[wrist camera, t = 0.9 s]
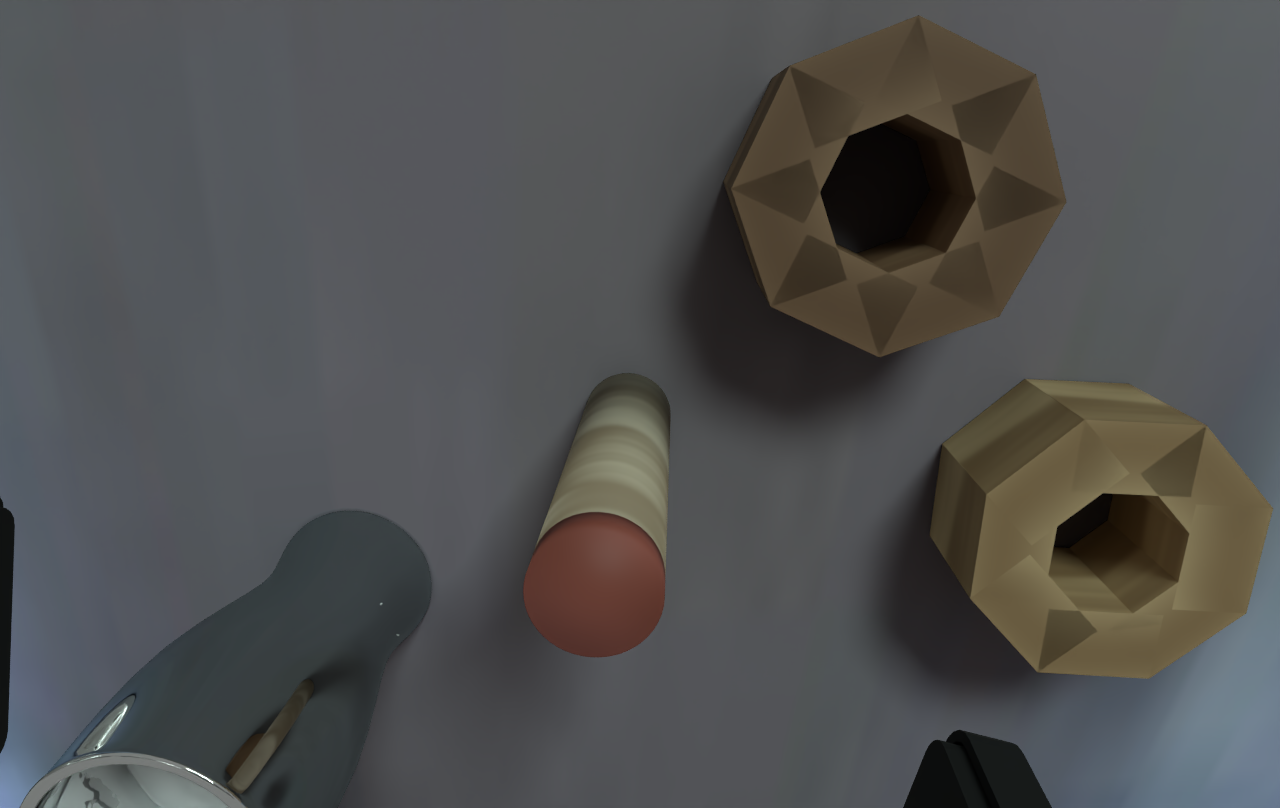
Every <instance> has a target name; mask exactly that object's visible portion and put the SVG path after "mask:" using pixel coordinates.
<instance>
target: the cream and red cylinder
mask: <svg viewBox="0 0 1280 808" xmlns="http://www.w3.org/2000/svg"><path fill="white" fill-rule="evenodd" d="M669 446H670V406H669V402H668V400H667V397H666V395H665V394H664V392H663V391H662V389H661V388H660V387H659V386H658V385H657V384H656V383H654V382H653V381H652V380H650V379H648V378H646V377H644V376H641V375H638V374H632V373H623V374H617V375H614V376H611V377H609V378H607V379H605V380H603V381H602V382H601V383H599V384H598V385H597V386H596V387H595V389H594V390H593V391H592V393H591V395H590V397H589V399H588V402H587V404H586V407H585V410H584V413H583V416H582V418H581V421H580V424H579V427H578V430H577V432H576V435H575V438H574V441H573V444H572V446H571V449H570V452H569V455H568V458H567V460H566V463H565V466H564V469H563V472H562V474H561V477H560V480H559V483H558V486H557V488H556V491H555V494H554V497H553V500H552V502H551V505H550V508H549V511H548V514H547V516H546V519H545V522H544V525H543V528H542V530H541V533H540V536H539V539H538V542H537V544H536V547H535V550H534V553H533V556H532V558H531V561H530V564H529V567H528V570H527V572H526V576H525V580H524V588H523V594H524V602H525V607H526V610H527V613H528V615H529V617H530V619H531V621H532V623H533V624H534V626H535V627H536V629H537V630H538V631H539V632H540V633H541V634H542V635H543V636H544V637H545V638H546V639H547V640H548V641H550V642H551V643H552V644H554V645H555V646H557V647H559V648H561V649H563V650H565V651H567V652H570V653H573V654H576V655H580V656H586V657H607V656H613V655H617V654H620V653H623V652H626V651H628V650H630V649H632V648H634V647H635V646H637V645H638V644H640V643H641V642H642V641H644V640H645V639H646V638H647V637H648V636H649V635H650V633H651V632H652V631H653V630H654V628H655V627H656V625H657V623H658V621H659V619H660V617H661V614H662V611H663V607H664V599H665V570H666V539H667V508H668V477H669Z"/></svg>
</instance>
